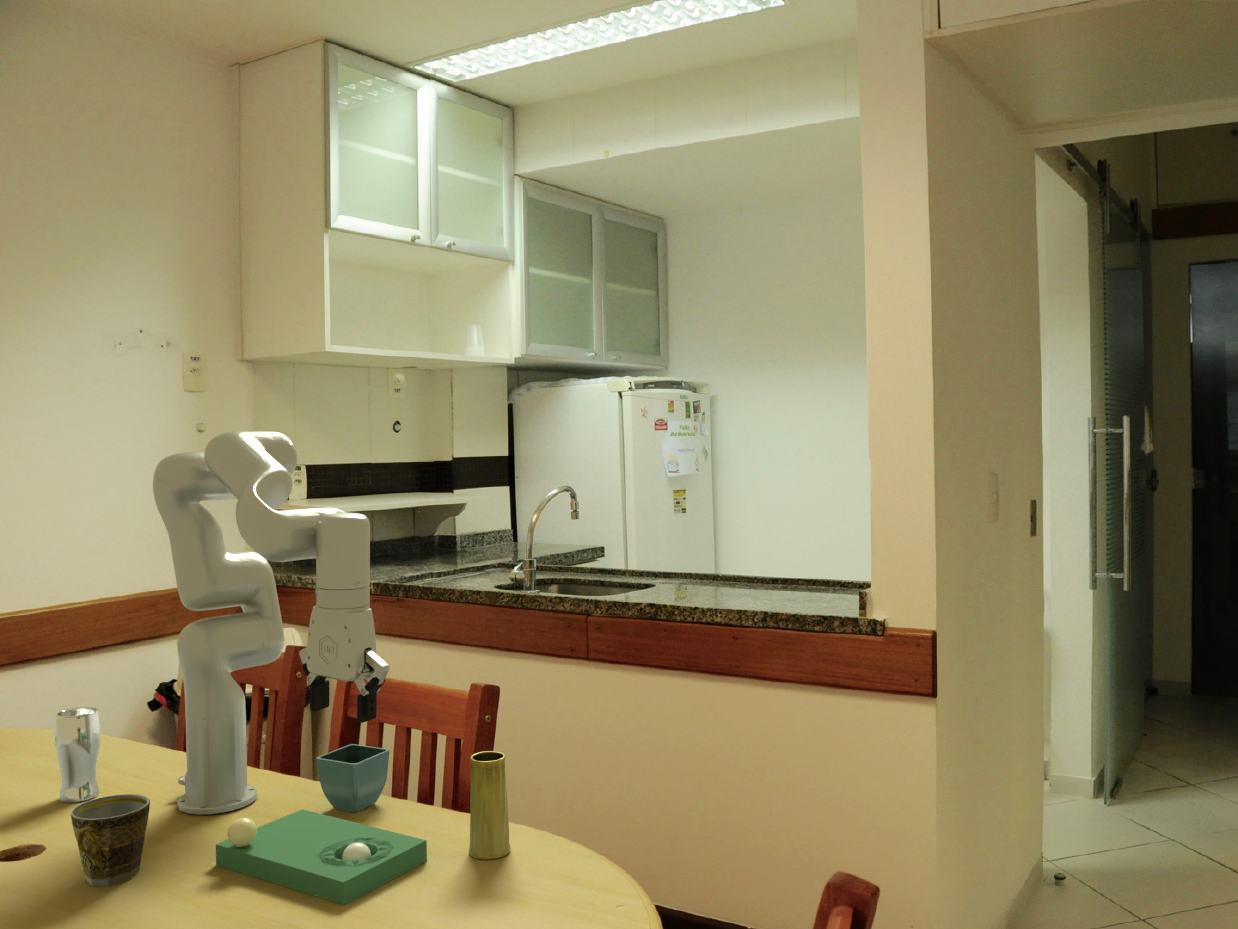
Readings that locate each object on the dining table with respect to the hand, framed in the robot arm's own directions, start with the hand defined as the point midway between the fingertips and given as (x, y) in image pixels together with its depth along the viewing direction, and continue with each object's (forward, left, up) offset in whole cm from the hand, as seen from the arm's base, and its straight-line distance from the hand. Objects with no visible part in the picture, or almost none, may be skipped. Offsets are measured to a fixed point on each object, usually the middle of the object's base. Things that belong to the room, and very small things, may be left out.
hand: (342, 714), depth 147 cm
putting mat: (-2, -3, -21) cm, 22 cm away
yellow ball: (-11, -9, -16) cm, 22 cm away
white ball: (+5, -3, -19) cm, 20 cm away
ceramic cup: (-24, -22, -22) cm, 39 cm away
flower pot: (-15, +16, -22) cm, 31 cm away
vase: (+17, +12, -22) cm, 30 cm away
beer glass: (-61, -4, -21) cm, 65 cm away
